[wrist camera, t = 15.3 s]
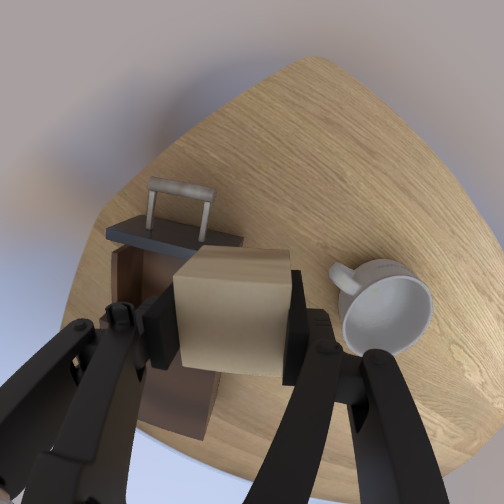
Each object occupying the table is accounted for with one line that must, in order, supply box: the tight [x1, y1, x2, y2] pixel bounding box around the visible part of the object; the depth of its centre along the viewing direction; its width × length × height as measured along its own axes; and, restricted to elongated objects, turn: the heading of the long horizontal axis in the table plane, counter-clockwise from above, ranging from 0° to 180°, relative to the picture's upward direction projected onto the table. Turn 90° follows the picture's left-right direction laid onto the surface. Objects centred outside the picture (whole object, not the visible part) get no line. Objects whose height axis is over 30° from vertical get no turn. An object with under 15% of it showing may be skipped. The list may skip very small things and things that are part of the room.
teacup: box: [328, 259, 433, 357], centre depth 29 cm, size 14×11×8 cm
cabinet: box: [99, 313, 221, 441], centre depth 35 cm, size 18×15×10 cm
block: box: [173, 245, 292, 377], centre depth 14 cm, size 5×5×5 cm
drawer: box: [106, 177, 244, 310], centre depth 30 cm, size 22×13×8 cm, turn 168°
